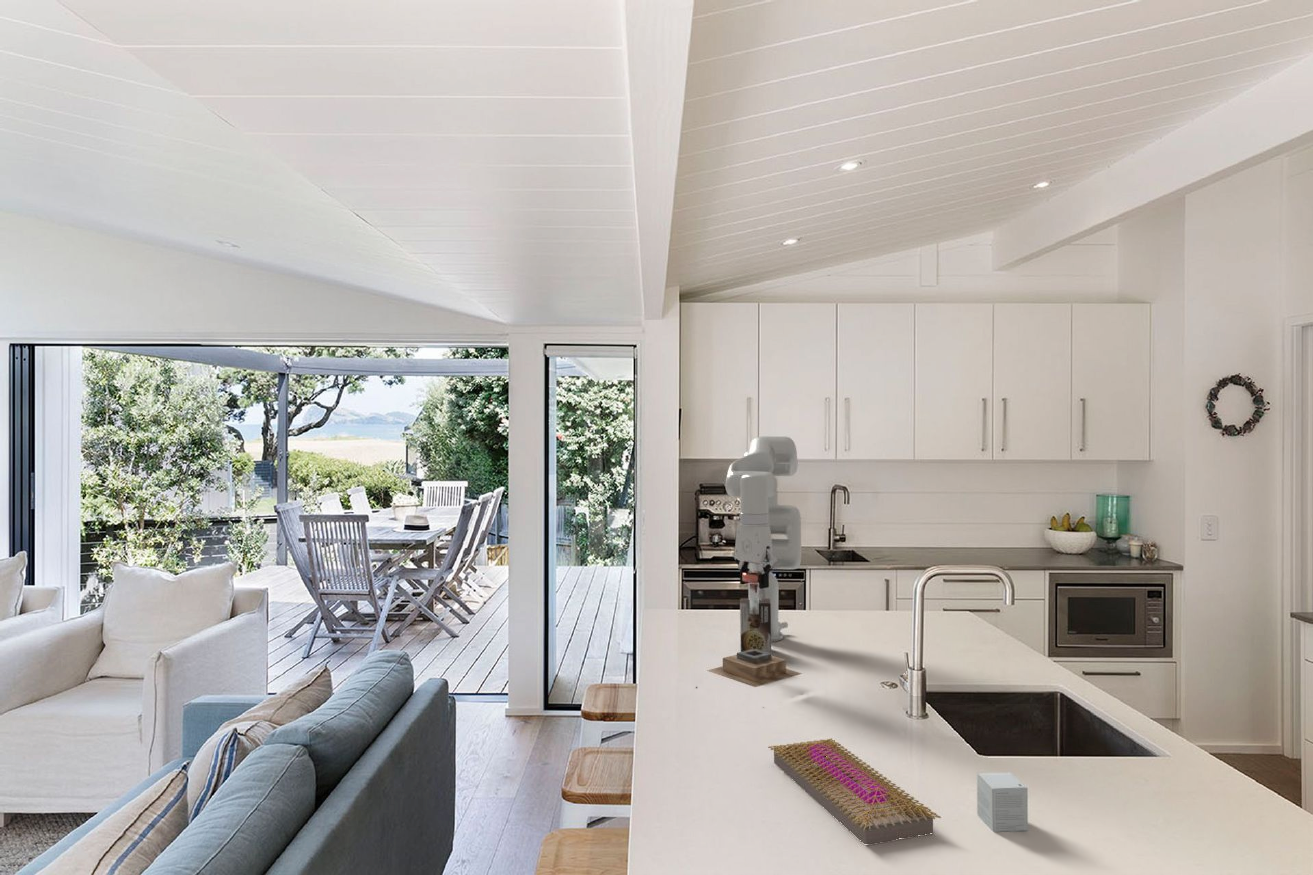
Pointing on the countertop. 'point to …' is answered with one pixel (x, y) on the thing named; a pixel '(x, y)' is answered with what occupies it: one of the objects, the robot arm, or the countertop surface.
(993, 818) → the product box
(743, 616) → the coffee box
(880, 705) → the countertop surface
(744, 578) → the copper dome knob
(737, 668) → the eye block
